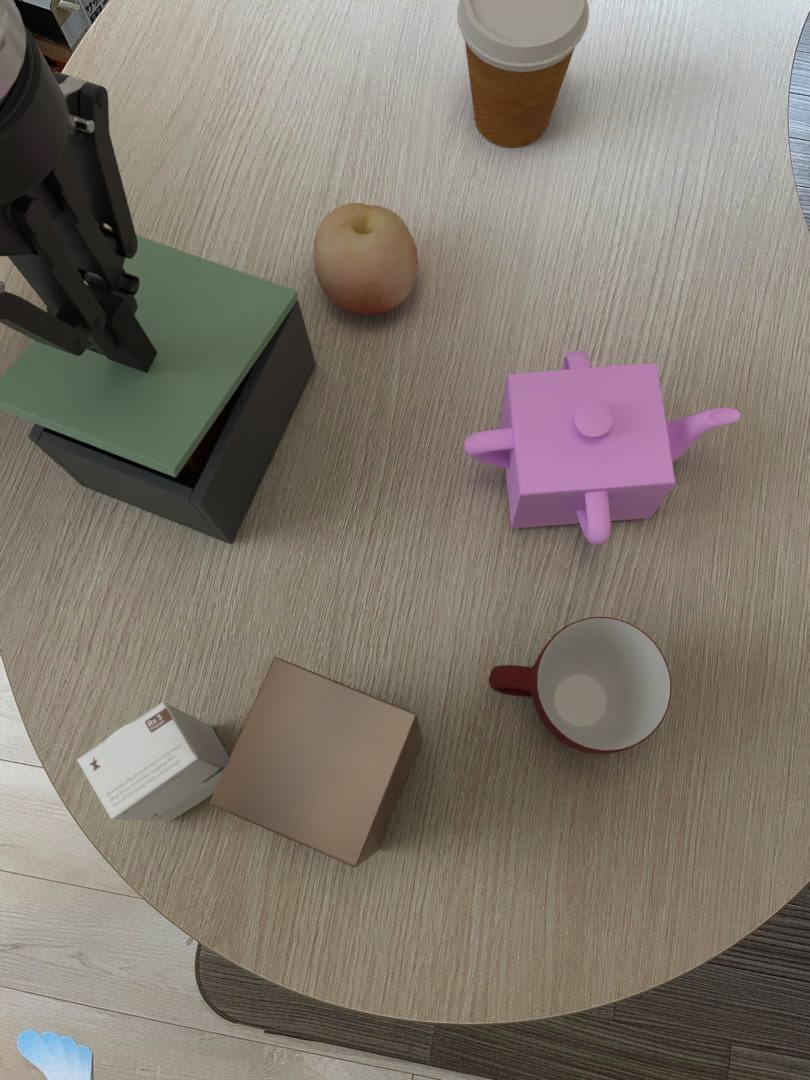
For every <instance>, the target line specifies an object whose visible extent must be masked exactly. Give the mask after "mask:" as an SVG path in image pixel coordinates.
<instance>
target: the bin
mask: <svg viewBox="0 0 810 1080" xmlns="http://www.w3.org/2000/svg"><path fill="white" fill-rule="evenodd" d="M316 366H317V362H316V359H315V355H314V352H313V348H312V345H311V342H310V338H309V333H308V331H307V328H306V324H305V319H304V316H303V312H302V309H301V305H300V301H299V300H298V299H297V301H296V303H295V304H294V306H293V307H292V309H291V310H290V312H289V313H288V315H287V316H286V317H285V319H284V320H283V322H282V323H281V325H280V326H279V328H278V329H277V331H276V332H275V334H274V335H273V336H272V338H271V339H270V341H269V342H268V344H267V345H266V347H265V348H264V350H263V351H262V353H261V354H260V355H259V357H258V358H257V360H256V361H255V363H254V364H253V366H252V367H251V369H250V370H249V372H248V373H247V374H246V376H245V377H244V379H243V380H242V382H241V383H240V385H239V386H238V388H237V389H236V391H235V392H234V393H233V395H232V396H231V398H230V399H229V401H228V402H227V404H226V405H225V407H226V409H227V411H228V413H229V415H230V417H229V419H228V421H227V423H226V425H225V427H224V429H223V431H222V433H221V435H220V437H219V439H218V441H217V443H216V446H215V448H214V450H213V452H212V454H211V456H210V458H209V460H208V462H207V464H206V466H205V468H204V470H203V472H202V474H201V476H200V475H197V474H194V473H192V472H189V471H186V470H184V469H181V471H180V472H179V474H178V475H177V477H173V476H170V475H168V474H165V473H162V472H160V471H157V470H155V469H152V468H149V467H147V466H144V465H142V464H139V463H137V462H134V461H131V460H129V459H126V458H124V457H121V456H118V455H116V454H113V453H111V452H108V451H105V450H103V449H100V448H98V447H95V446H92V445H90V444H87V443H85V442H82V441H80V440H77V439H74V438H72V437H69V436H67V435H64V434H61V433H59V432H56V431H54V430H51V429H48V428H46V427H43V426H41V425H38V424H36V423H33V426H32V428H31V429H30V432H29V433H28V435H27V438H28V439H29V440H30V441H31V442H32V443H34V445H36V446H37V447H38V448H39V449H40V450H41V451H42V452H43V453H45V454H46V455H47V456H48V457H49V458H50V459H51V460H53V461H54V462H55V463H56V464H57V465H58V466H60V468H61V469H62V470H64V472H66V473H67V474H68V475H69V476H70V477H72V478H73V479H74V480H75V481H76V482H77V483H78V484H79V485H80V486H81V487H84V488H86V489H89V490H92V491H94V492H96V493H99V494H102V495H104V496H107V497H109V498H111V499H115V500H117V501H120V502H122V503H125V504H127V505H130V506H132V507H135V508H138V509H140V510H143V511H145V512H148V513H151V514H153V515H155V516H158V517H161V518H163V519H166V520H168V521H171V522H173V523H175V524H179V525H181V526H183V527H186V528H189V529H191V530H194V531H196V532H199V533H201V534H204V535H207V536H209V537H211V538H213V539H216V540H219V541H222V542H224V543H226V544H229V545H233V543H234V542H235V539H236V537H237V534H238V533H239V531H240V528H241V526H242V524H243V522H244V519H245V518H246V516H247V513H248V511H249V509H250V507H251V505H252V503H253V501H254V498H255V496H256V495H257V492H258V490H259V488H260V486H261V484H262V481H263V479H264V477H265V475H266V473H267V471H268V468H269V466H270V464H271V462H272V460H273V458H274V456H275V453H276V451H277V449H278V447H279V444H280V443H281V440H282V438H283V436H284V434H285V432H286V430H287V428H288V425H289V423H290V421H291V420H292V417H293V415H294V413H295V411H296V409H297V406H298V404H299V402H300V400H301V399H302V396H303V394H304V392H305V389H306V388H307V385H308V383H309V381H310V378H311V376H312V375H313V372H314V370H315V368H316Z"/></svg>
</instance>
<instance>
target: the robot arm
mask: <svg viewBox="0 0 810 1080" xmlns="http://www.w3.org/2000/svg"><path fill="white" fill-rule="evenodd" d="M109 109H110V107H109V94H108V90H107V88H106V87H105V86H103V85H100V84H98V83H97V84H96V83H94V82H90V81H87V80H85V79H81V78H78V77H75V76H71V75H69V74H66V73H63V72H60V71H53V72H52V69H51V68H50V66H49V64H48V61H47V60H46V58H45V56H44V54H43V52H42V50H41V49H40V47H39V45H38V42H37V41H36V39H35V38H34V36H33V34H32V31H30V30H29V28H28V27H27V26H26V25H25V23H24V22H23V18H22V15H21V12H20V10H19V8H18V7H17V5H16V3H15V1H14V0H0V257H7V258H8V259H9V260H10V262H11V263H12V265H14V267H15V268H16V269H17V270H18V271H19V273H20V274H21V276H22V277H23V278H24V279H25V281H26V282H27V283H28V284H29V286H30V287H31V288H32V289H33V291H34V292H35V293H36V294H37V296H38V297H39V298H40V300H41V301H42V302H43V304H44V305H45V306H46V308H45V309H46V311H45V310H44V309H42V308H40V307H39V306H37V305H35V304H33V303H32V302H30V301H28V300H27V299H26V298H25V299H24V298H23V297H21V296H19V295H17V294H16V293H15V294H14V293H11V292H9V291H6V285H5V283H4V282H3V281H1V280H0V324H2V325H4V326H6V327H8V328H10V329H12V330H13V331H15V332H17V333H20V334H22V335H23V336H25V337H27V338H30V339H32V340H33V341H34V340H35V341H37V342H40V343H43V344H46V345H48V346H51V347H54V348H57V349H59V350H62V351H65V352H68V353H70V354H73V355H76V356H80V355H82V354H83V353H84V351H85V349H87V350H90V351H93V352H95V353H98V354H101V355H104V356H106V357H107V358H108V359H109V360H112V361H115V362H118V363H120V364H123V365H126V366H129V367H131V368H134V369H137V370H140V371H142V372H145V373H147V372H148V370H149V368H150V366H151V365H152V363H153V361H154V359H155V357H156V355H157V351H156V349H155V348H154V346H153V345H152V343H151V341H150V340H149V338H148V337H147V335H146V333H145V332H144V330H143V329H142V327H141V325H140V324H139V322H138V321H137V319H136V317H135V316H134V315H135V313H136V311H137V309H138V307H137V301H136V299H135V298H134V296H135V295H136V293H137V291H138V289H139V284H140V280H139V277H137V276H134V275H131V274H128V273H126V272H125V270H124V268H123V264H124V261H125V258H128V259H131V258H133V257H134V255H135V254H136V252H137V249H138V248H137V247H138V241H137V237H136V235H137V233H136V230H135V226H134V223H133V218H132V215H131V210H130V207H129V203H128V199H127V195H126V191H125V188H124V184H123V180H122V176H121V173H120V167H119V164H118V160H117V156H116V153H115V149H114V145H113V142H112V138H111V133H110V113H109V112H110V110H109ZM105 225H107V226H108V227H107V226H105ZM86 282H87V284H88V285H89V286H88V285H86V284H85V283H86Z"/></svg>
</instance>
